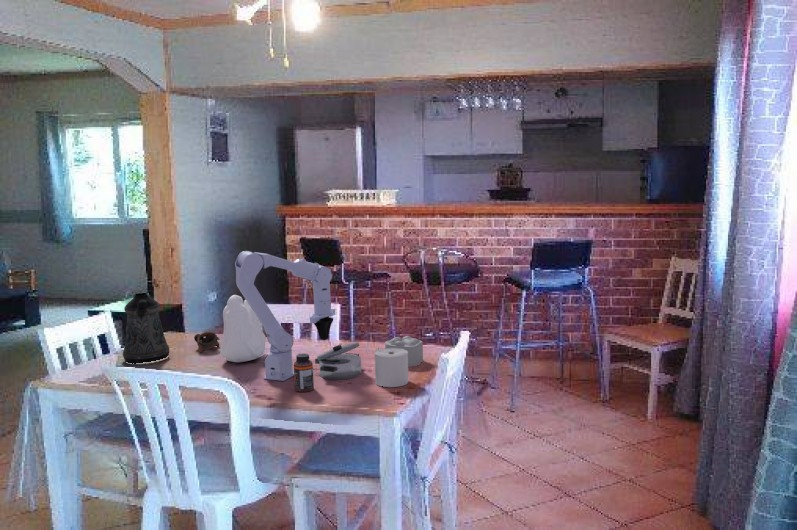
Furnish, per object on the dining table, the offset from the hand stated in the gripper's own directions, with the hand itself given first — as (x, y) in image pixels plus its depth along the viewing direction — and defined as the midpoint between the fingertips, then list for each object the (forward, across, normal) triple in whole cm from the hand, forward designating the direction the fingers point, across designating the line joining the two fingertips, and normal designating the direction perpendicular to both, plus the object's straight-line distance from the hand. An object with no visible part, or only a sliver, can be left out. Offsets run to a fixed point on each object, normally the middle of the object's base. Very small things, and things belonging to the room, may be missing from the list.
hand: (324, 339), depth 247 cm
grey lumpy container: (+11, +15, -23) cm, 29 cm away
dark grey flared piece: (+11, -9, +70) cm, 71 cm away
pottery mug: (+11, +10, +58) cm, 59 cm away
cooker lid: (+3, -4, -8) cm, 9 cm away
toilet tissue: (+11, -8, -28) cm, 31 cm away
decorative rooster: (+11, +4, +34) cm, 36 cm away
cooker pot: (+10, -4, -8) cm, 14 cm away
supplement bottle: (+11, -23, -5) cm, 26 cm away
